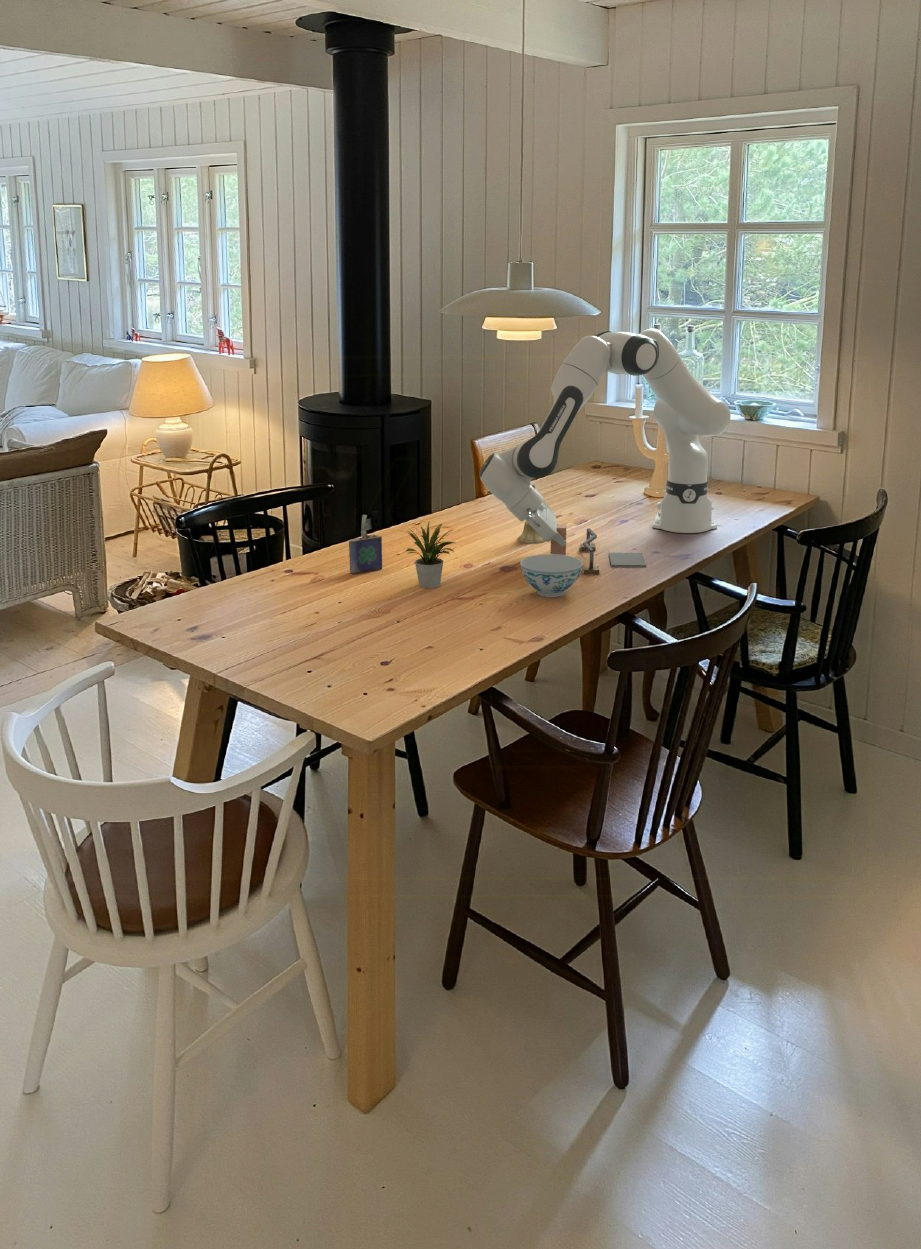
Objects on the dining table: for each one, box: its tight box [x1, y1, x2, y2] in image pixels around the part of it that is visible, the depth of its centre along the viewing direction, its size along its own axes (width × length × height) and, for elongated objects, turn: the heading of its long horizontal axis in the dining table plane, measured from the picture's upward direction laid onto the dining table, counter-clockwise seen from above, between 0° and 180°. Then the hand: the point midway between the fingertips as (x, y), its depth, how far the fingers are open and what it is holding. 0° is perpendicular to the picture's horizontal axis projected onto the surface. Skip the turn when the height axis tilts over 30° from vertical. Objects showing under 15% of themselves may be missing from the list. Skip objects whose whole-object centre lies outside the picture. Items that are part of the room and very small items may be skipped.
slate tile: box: [608, 551, 647, 568], centre depth 293 cm, size 12×9×1 cm
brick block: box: [550, 523, 567, 555], centre depth 293 cm, size 4×4×9 cm
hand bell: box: [517, 484, 546, 545], centre depth 312 cm, size 8×8×16 cm
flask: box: [348, 530, 383, 575], centre depth 285 cm, size 9×3×11 cm, turn 121°
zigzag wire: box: [579, 527, 600, 575], centre depth 293 cm, size 26×4×6 cm, turn 176°
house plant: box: [401, 520, 456, 589], centre depth 270 cm, size 14×14×16 cm
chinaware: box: [519, 553, 583, 598], centre depth 266 cm, size 15×15×8 cm
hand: (564, 541), depth 292 cm, fingers closed on brick block, 4 cm apart
